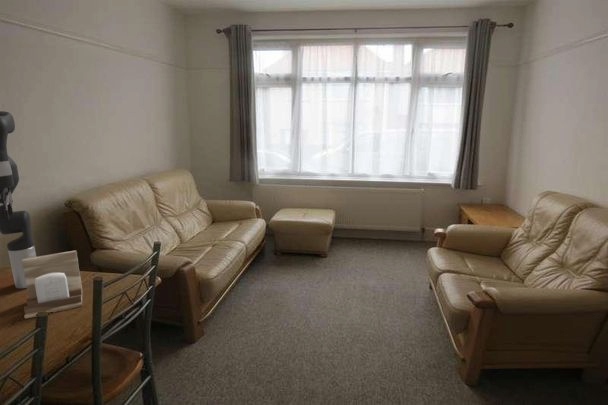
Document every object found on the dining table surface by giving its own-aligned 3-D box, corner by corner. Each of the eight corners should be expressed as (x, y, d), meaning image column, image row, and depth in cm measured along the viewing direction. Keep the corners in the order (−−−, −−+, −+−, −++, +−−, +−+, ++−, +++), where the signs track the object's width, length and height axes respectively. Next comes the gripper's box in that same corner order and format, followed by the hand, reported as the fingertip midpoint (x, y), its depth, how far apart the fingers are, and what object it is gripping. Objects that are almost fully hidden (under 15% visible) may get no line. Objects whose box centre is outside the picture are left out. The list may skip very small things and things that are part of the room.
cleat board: (30, 300, 147) (22, 258, 143) (82, 290, 156) (76, 250, 152) (24, 318, 134) (15, 273, 130) (81, 306, 143) (74, 262, 139)
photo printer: (70, 297, 148) (65, 269, 145) (70, 301, 144) (65, 272, 141) (39, 304, 142) (33, 275, 139) (38, 309, 139) (32, 279, 136)
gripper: (-11, 172, 135) (-2, 215, 138) (-20, 177, 123) (-11, 224, 126) (15, 171, 138) (23, 212, 142) (8, 175, 126) (17, 221, 130)
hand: (7, 218), depth 134 cm, fingers open, 8 cm apart
